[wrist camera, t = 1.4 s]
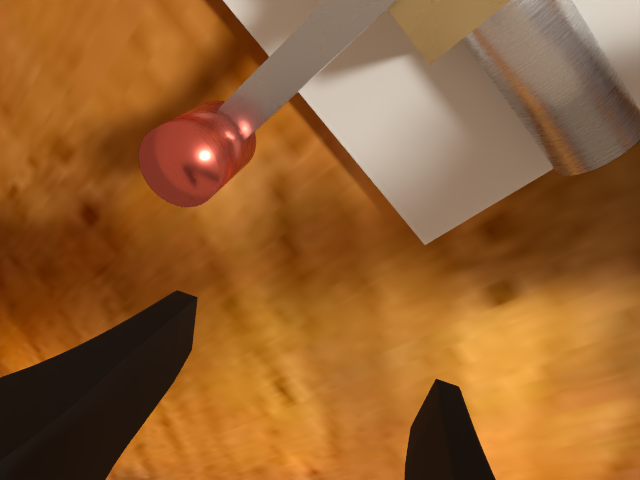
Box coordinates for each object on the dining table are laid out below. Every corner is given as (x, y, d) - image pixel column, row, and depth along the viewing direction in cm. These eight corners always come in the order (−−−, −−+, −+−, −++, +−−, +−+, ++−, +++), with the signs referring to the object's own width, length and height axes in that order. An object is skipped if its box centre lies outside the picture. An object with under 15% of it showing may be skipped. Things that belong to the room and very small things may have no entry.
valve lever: (469, -179, 10) (478, -232, 8) (528, -85, 11) (553, -105, 8) (174, 131, 16) (123, 160, 13) (224, 184, 16) (183, 221, 14)
